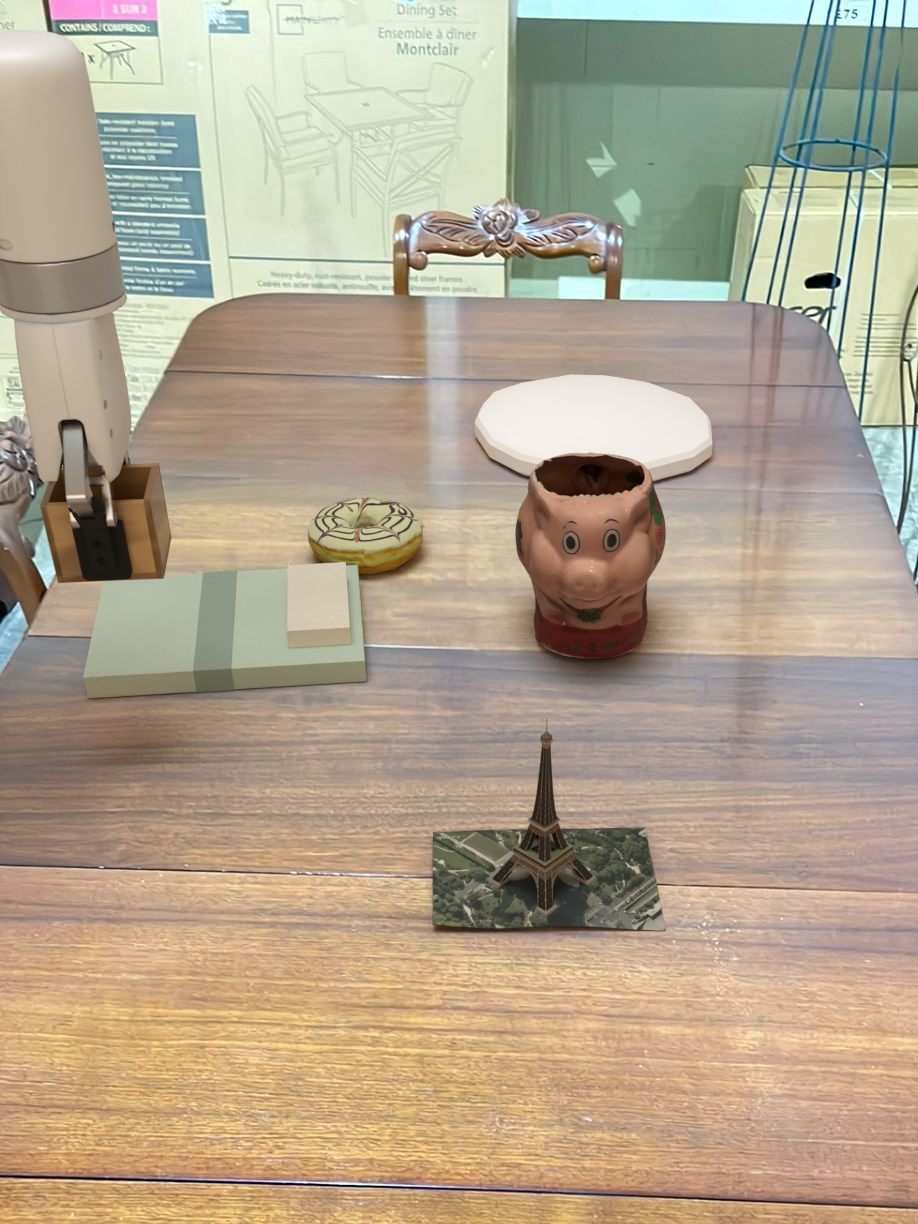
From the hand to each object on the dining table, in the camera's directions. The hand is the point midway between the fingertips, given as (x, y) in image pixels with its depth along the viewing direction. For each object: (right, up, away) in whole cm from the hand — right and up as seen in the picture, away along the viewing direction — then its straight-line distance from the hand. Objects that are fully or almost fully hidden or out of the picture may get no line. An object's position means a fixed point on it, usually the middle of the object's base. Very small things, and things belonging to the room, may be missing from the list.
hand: (114, 551), depth 93 cm
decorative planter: (+34, 0, +23) cm, 41 cm away
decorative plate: (+36, +25, +52) cm, 68 cm away
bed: (+4, -2, +21) cm, 22 cm away
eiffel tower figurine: (+29, -23, -2) cm, 37 cm away
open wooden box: (0, 0, 0) cm, 1 cm away
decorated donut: (+14, +8, +33) cm, 37 cm away
